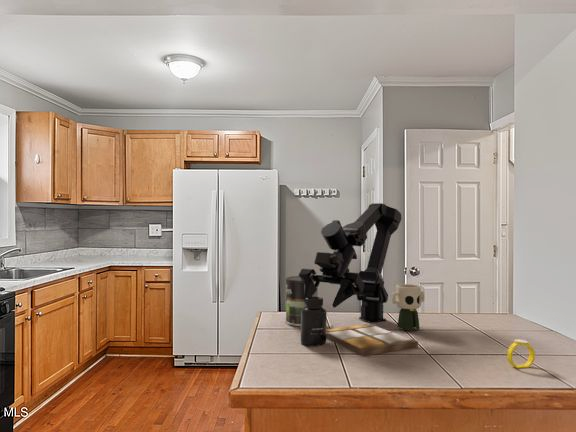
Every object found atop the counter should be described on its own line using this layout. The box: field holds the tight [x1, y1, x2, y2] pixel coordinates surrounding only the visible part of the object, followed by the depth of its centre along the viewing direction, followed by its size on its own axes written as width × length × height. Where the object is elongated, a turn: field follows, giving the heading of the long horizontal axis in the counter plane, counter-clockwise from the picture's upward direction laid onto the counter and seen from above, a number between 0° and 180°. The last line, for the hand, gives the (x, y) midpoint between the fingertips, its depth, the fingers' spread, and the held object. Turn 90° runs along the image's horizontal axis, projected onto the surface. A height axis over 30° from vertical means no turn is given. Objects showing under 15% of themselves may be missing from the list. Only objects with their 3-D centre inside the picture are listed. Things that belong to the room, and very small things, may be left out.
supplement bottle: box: [300, 296, 328, 347], centre depth 120 cm, size 7×7×12 cm
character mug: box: [391, 283, 425, 331], centre depth 134 cm, size 11×7×13 cm, turn 109°
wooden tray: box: [326, 323, 419, 357], centre depth 121 cm, size 17×20×2 cm
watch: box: [506, 338, 536, 369], centre depth 100 cm, size 6×3×6 cm, turn 101°
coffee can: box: [285, 275, 319, 327], centre depth 143 cm, size 10×10×14 cm
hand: (318, 304), depth 122 cm, fingers open, 9 cm apart
